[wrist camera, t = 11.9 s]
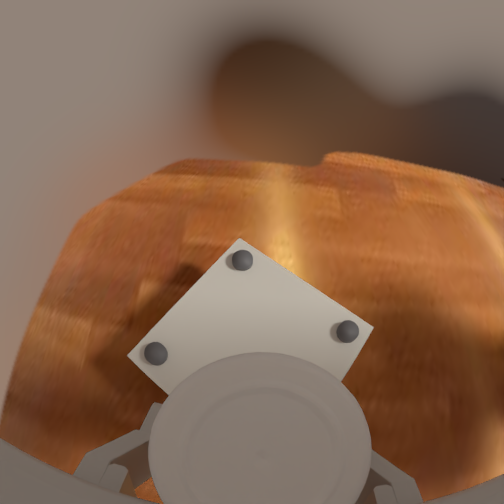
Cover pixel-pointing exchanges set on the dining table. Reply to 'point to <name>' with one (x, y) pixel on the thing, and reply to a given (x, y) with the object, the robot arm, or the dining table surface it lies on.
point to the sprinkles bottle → (260, 435)
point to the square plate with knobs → (249, 321)
